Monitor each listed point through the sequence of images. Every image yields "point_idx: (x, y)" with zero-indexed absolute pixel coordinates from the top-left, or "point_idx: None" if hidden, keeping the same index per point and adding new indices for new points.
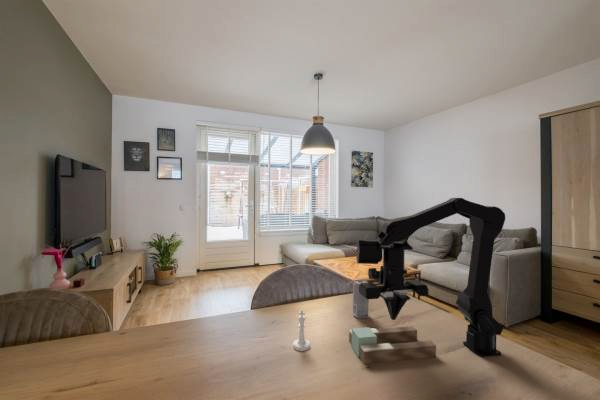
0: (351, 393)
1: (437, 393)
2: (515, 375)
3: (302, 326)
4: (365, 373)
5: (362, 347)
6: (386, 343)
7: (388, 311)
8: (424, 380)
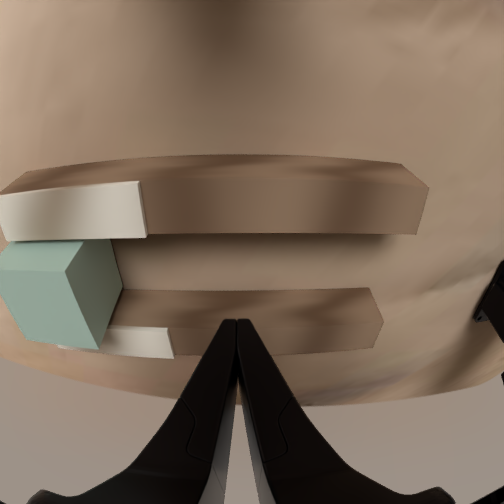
0: (53, 372)
1: (236, 403)
2: (451, 365)
3: None
4: None
5: None
6: (153, 333)
7: (201, 358)
8: None
